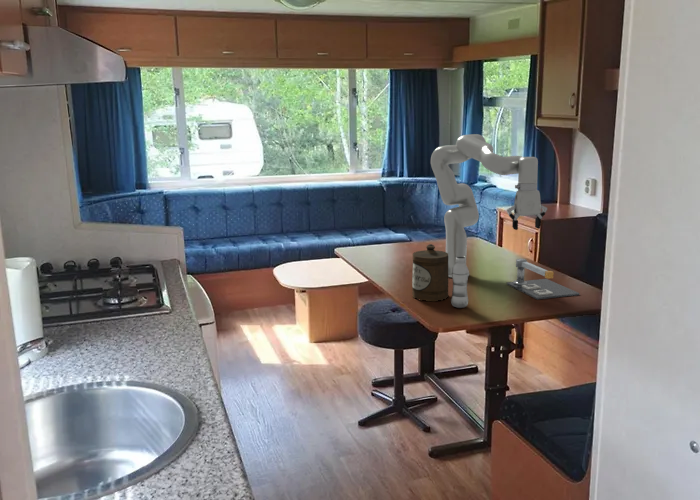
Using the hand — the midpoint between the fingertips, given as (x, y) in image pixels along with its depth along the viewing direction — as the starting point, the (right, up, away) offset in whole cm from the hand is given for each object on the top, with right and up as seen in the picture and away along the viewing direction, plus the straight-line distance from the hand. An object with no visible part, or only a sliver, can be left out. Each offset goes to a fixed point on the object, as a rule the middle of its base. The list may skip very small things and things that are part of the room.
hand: (526, 228), depth 264 cm
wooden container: (-40, -28, +1) cm, 49 cm away
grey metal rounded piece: (+1, -24, +15) cm, 29 cm away
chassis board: (+9, -26, +8) cm, 28 cm away
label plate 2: (+7, -27, +1) cm, 28 cm away
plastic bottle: (-30, -31, -14) cm, 46 cm away
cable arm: (+4, -18, +4) cm, 19 cm away
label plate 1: (+4, -26, +9) cm, 28 cm away
